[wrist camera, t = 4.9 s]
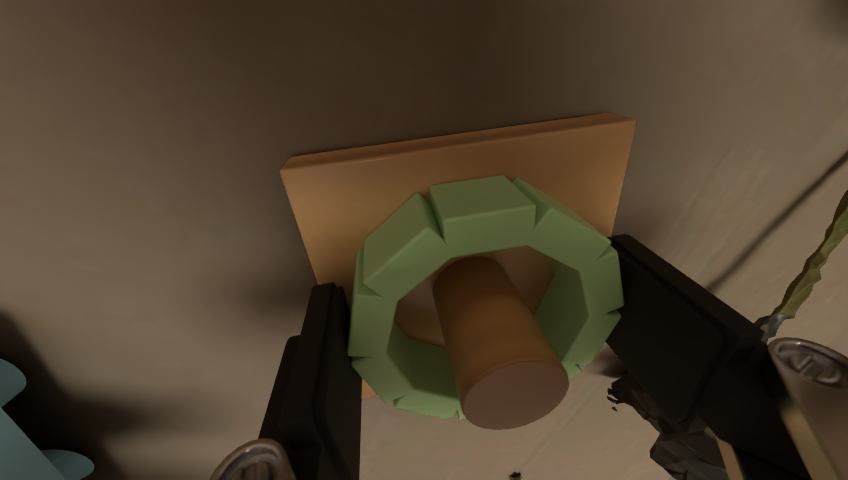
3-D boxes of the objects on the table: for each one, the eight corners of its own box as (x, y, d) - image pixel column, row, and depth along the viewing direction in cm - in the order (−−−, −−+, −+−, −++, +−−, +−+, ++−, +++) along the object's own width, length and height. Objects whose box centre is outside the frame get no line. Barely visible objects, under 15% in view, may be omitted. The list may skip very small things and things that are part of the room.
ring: (321, 200, 8) (308, 241, 6) (603, 158, 9) (661, 185, 7) (373, 381, 12) (373, 438, 10) (568, 345, 12) (600, 392, 11)
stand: (288, 156, 9) (205, 258, 4) (609, 112, 9) (815, 163, 5) (358, 373, 13) (351, 527, 9) (569, 334, 14) (657, 461, 10)
